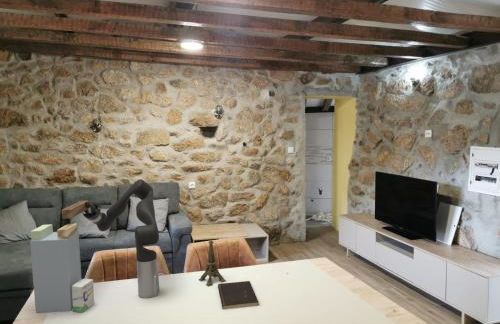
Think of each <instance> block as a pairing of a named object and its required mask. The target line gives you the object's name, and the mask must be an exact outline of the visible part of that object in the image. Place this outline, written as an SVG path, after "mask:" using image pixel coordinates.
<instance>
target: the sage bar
mask: <svg viewBox="0 0 500 324" xmlns="http://www.w3.org/2000/svg"><path fill="white" fill-rule="evenodd" d="M53 228H54V227H53V224H50V223H49V224H42V225H40V226H38V227H36V228H34V229H33V230H30V238H31V239H30V241H31V240H42V239H44V238H45V237H47V236H49V235H50V234H52V233H53V232H54V229H53Z"/></svg>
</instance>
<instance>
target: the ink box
mask: <svg viewBox="0 0 500 324" xmlns="http://www.w3.org/2000/svg"><path fill="white" fill-rule="evenodd" d="M94 291H95V290H94V279H91V278H82V280H80V281H79V282H77V283H76V284H74V285H73V286H72V299H73V310H72V312H74V313H84V312H85V311H87V310H88V309H89V308H91V306H94V304H95V292H94Z"/></svg>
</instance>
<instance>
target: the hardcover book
mask: <svg viewBox="0 0 500 324" xmlns="http://www.w3.org/2000/svg"><path fill="white" fill-rule="evenodd" d="M217 289H218V294H219V298H220V304H221V309H222V310H226V309H236V308H245V307H253V306H255V307H256V306H258V305H259V299H258V297H257V295H256V293H255V290H254V288H253V286H252V284H251V281H250V280H246V281H245V280H244V281H235V282H221V283H218V284H217Z"/></svg>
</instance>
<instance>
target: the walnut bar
mask: <svg viewBox="0 0 500 324" xmlns="http://www.w3.org/2000/svg"><path fill="white" fill-rule="evenodd" d="M76 202H77V203H76ZM76 202H74V203H73V204H71V205H69V206H67V207H65V208H63V209H61V219H63V220H66V219H67V220H68V219H73V218H74V217H77V216H78V215H80V214H81V213H82V212H83V211H85V210H87V209H88V208H87V207H86V206H85V202H88V203H89V204H90V202H89V200H79V201H76ZM82 214H83V213H82Z"/></svg>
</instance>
